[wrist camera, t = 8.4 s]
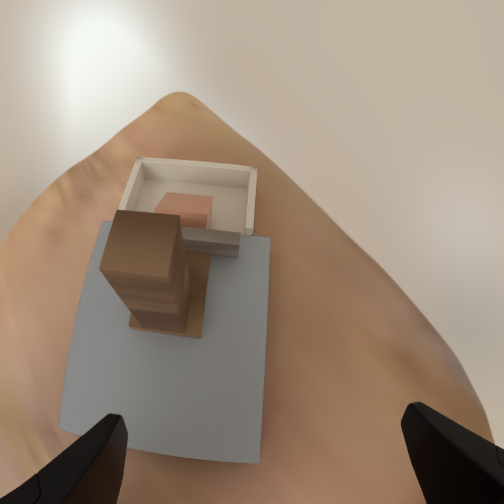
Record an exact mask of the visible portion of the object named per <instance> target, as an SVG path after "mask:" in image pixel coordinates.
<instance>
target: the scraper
mask: <svg viewBox="0 0 504 504" xmlns="http://www.w3.org/2000/svg"><path fill="white" fill-rule="evenodd" d="M240 237H241V233H240V232H231V231H221V230H212V229H202V228H193V227H183V226H181V222H180V215H172V214H162V213H151V212H140V211H128V210H117V211H116V214H115V217H114V220H113V223H112V226H111V229H110V232H109V236H108V239H107V242H106V246H105V249H104V252H103V256H102V259H101V263H100V266H99V270H100V271H101V272H102V274H103V275H104V277H105V278H106V280H107V281H108V282H109V284H110V285H111V287H112V288H113V289H114V291H115V292H116V293H117V295H118V296H119V297H120V299H121V300H122V301H123V303H124V304H125V305H126V307H127V308H128V309H129V311H130V312H131V314H130V319H129V325H128V326H129V327H130V329H133V330H140V331H146V332H153V333H159V334H167V335H174V336H181V337H189V338H198V339H201V333H202V325H203V316H204V308H205V299H206V291H207V283H208V276H209V268H210V261H211V255H212V256H221V257H231V258H238V253H239V246H240Z"/></svg>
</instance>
